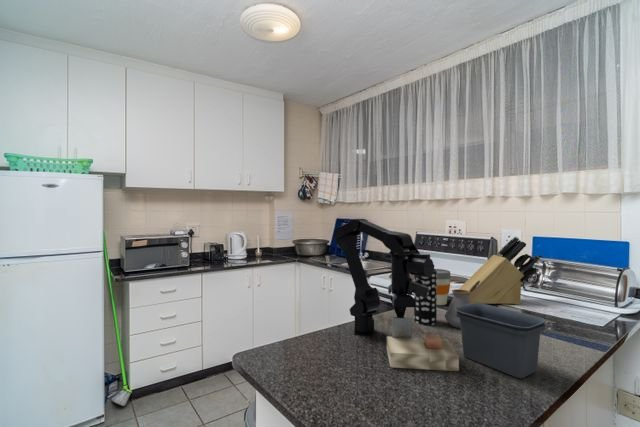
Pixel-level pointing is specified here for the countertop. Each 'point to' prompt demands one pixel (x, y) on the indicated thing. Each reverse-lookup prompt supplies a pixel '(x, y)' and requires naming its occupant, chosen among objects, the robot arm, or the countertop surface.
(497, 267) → the knife block
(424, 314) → the white-spotted black cylinder
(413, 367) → the block
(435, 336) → the peg
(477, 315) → the storage bin
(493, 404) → the countertop surface
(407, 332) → the latch flap
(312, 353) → the countertop surface
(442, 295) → the reusable coffee cup
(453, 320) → the coffee pot
